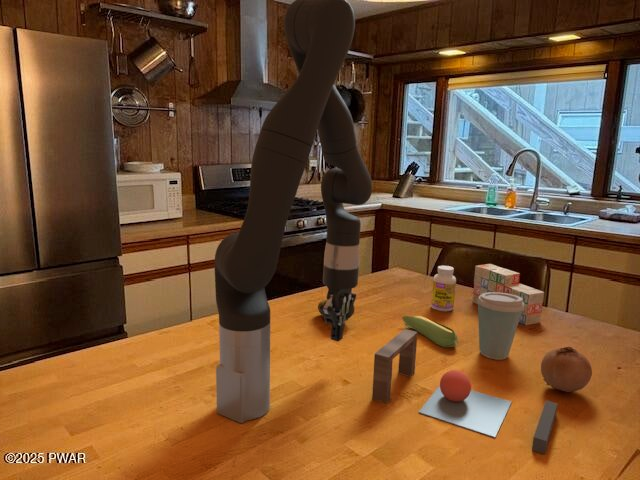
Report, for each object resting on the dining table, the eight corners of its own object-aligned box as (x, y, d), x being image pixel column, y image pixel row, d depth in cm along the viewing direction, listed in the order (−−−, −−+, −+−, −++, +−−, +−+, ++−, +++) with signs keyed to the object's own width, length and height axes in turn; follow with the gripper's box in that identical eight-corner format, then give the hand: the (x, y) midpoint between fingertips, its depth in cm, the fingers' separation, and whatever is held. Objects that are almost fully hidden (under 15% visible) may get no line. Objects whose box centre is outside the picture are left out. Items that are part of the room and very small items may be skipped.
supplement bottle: (430, 310, 148) (433, 269, 145) (431, 303, 154) (434, 263, 151) (453, 313, 146) (456, 271, 143) (453, 306, 152) (457, 265, 149)
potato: (343, 312, 145) (344, 286, 143) (357, 329, 132) (358, 300, 131) (315, 314, 142) (316, 287, 141) (327, 331, 130) (328, 302, 129)
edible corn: (447, 353, 120) (448, 335, 119) (397, 324, 137) (398, 309, 136) (463, 349, 122) (464, 332, 121) (411, 321, 139) (412, 306, 138)
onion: (560, 405, 97) (566, 358, 95) (528, 382, 106) (533, 339, 104) (599, 400, 100) (606, 354, 97) (565, 377, 108) (571, 335, 106)
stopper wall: (544, 454, 82) (546, 441, 81) (531, 450, 83) (533, 437, 82) (555, 415, 94) (557, 403, 93) (544, 412, 95) (546, 400, 94)
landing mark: (495, 438, 86) (495, 437, 86) (418, 412, 93) (418, 411, 93) (511, 402, 98) (511, 401, 98) (442, 382, 105) (442, 381, 105)
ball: (432, 382, 96) (445, 410, 96) (461, 374, 94) (474, 403, 94) (437, 369, 102) (450, 396, 102) (465, 361, 99) (477, 389, 99)
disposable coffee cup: (462, 348, 122) (468, 290, 119) (497, 342, 126) (504, 286, 123) (491, 367, 112) (498, 304, 109) (528, 360, 116) (536, 300, 113)
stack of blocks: (540, 323, 140) (546, 281, 138) (524, 326, 138) (530, 284, 135) (486, 299, 159) (490, 263, 157) (471, 302, 157) (475, 264, 154)
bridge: (386, 403, 96) (388, 357, 94) (372, 398, 98) (374, 353, 96) (414, 373, 109) (417, 332, 106) (401, 369, 110) (404, 328, 108)
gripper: (342, 273, 98) (337, 354, 101) (370, 260, 109) (364, 334, 113) (310, 266, 101) (306, 345, 105) (340, 255, 113) (335, 326, 116)
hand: (336, 339), depth 109 cm, fingers closed
